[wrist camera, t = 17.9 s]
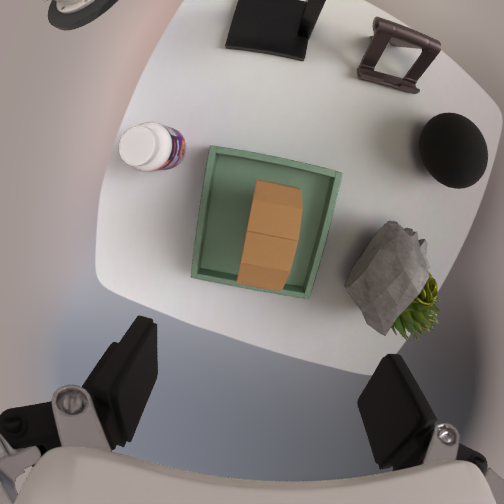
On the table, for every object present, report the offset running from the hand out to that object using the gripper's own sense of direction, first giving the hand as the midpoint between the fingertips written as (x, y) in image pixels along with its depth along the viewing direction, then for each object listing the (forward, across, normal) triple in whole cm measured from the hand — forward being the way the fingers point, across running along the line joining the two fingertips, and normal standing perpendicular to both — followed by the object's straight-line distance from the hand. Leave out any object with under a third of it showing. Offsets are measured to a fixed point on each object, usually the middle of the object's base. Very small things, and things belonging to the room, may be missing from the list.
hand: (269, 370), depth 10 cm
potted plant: (+26, -19, +3) cm, 33 cm away
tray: (+26, 0, 0) cm, 26 cm away
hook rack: (+26, +5, -27) cm, 38 cm away
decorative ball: (+26, -22, -16) cm, 38 cm away
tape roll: (+20, 0, 0) cm, 20 cm away
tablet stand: (+26, -12, -26) cm, 39 cm away
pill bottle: (+26, +14, -7) cm, 31 cm away
